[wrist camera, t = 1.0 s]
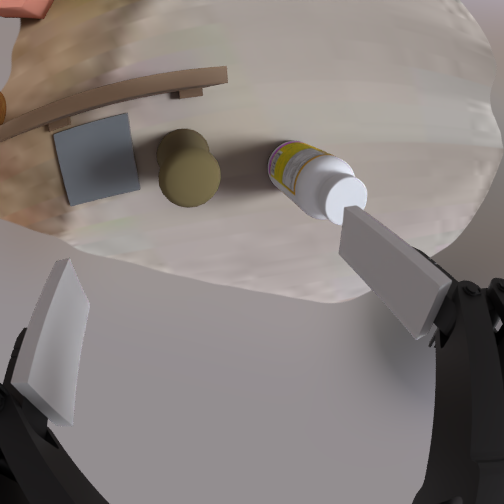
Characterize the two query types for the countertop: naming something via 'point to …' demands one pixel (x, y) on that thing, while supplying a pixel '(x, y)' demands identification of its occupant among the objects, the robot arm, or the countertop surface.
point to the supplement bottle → (316, 180)
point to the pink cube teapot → (24, 8)
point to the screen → (115, 97)
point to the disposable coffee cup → (2, 108)
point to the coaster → (97, 159)
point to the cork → (187, 168)
